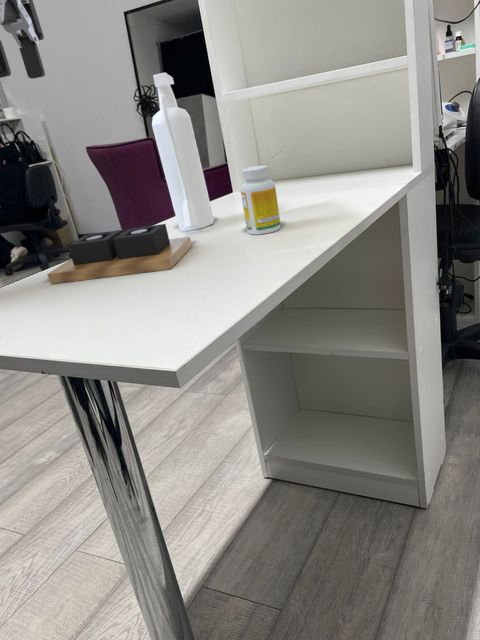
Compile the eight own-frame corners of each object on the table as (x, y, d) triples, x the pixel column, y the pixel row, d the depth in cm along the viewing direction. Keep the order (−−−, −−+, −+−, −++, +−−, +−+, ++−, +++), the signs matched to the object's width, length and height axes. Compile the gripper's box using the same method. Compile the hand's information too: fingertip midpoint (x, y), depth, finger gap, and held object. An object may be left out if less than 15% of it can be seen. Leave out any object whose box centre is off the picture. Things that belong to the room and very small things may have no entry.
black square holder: (118, 259, 77) (112, 239, 76) (132, 248, 82) (127, 228, 81) (158, 254, 76) (153, 233, 75) (170, 243, 81) (165, 223, 80)
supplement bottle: (241, 235, 85) (229, 172, 81) (260, 226, 89) (250, 165, 85) (268, 235, 82) (258, 170, 78) (287, 225, 86) (278, 163, 82)
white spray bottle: (170, 238, 92) (131, 75, 82) (182, 223, 103) (149, 78, 92) (208, 232, 91) (175, 67, 81) (216, 217, 102) (188, 70, 92)
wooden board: (50, 284, 77) (40, 253, 75) (85, 259, 87) (77, 232, 85) (171, 269, 73) (163, 236, 71) (192, 245, 84) (185, 217, 82)
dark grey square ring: (73, 265, 78) (67, 245, 77) (90, 253, 84) (84, 234, 82) (112, 260, 77) (106, 239, 76) (126, 249, 82) (121, 229, 81)
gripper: (-21, -57, 69) (23, 83, 76) (-101, -89, 56) (-40, 82, 63) (32, -71, 68) (72, 73, 74) (-38, -107, 55) (17, 70, 62)
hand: (20, 77), depth 69 cm, fingers open, 8 cm apart
